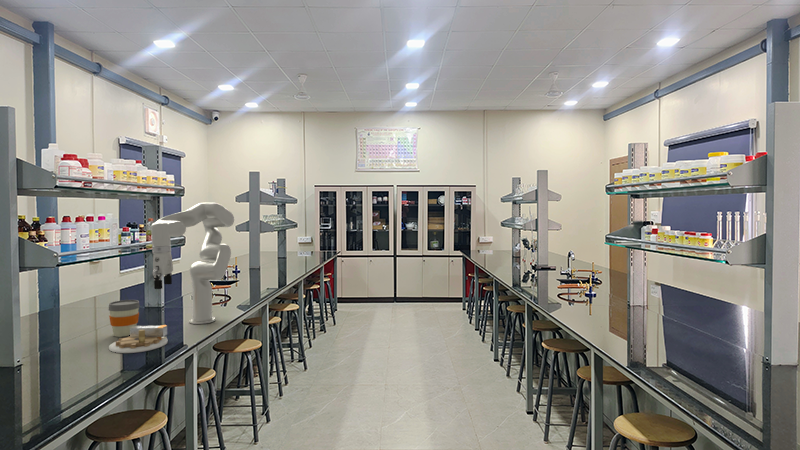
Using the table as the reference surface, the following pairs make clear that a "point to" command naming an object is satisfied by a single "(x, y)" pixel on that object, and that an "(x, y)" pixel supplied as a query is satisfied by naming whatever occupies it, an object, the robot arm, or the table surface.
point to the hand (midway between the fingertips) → (163, 286)
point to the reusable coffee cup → (123, 316)
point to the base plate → (138, 349)
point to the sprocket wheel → (137, 341)
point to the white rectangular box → (149, 331)
